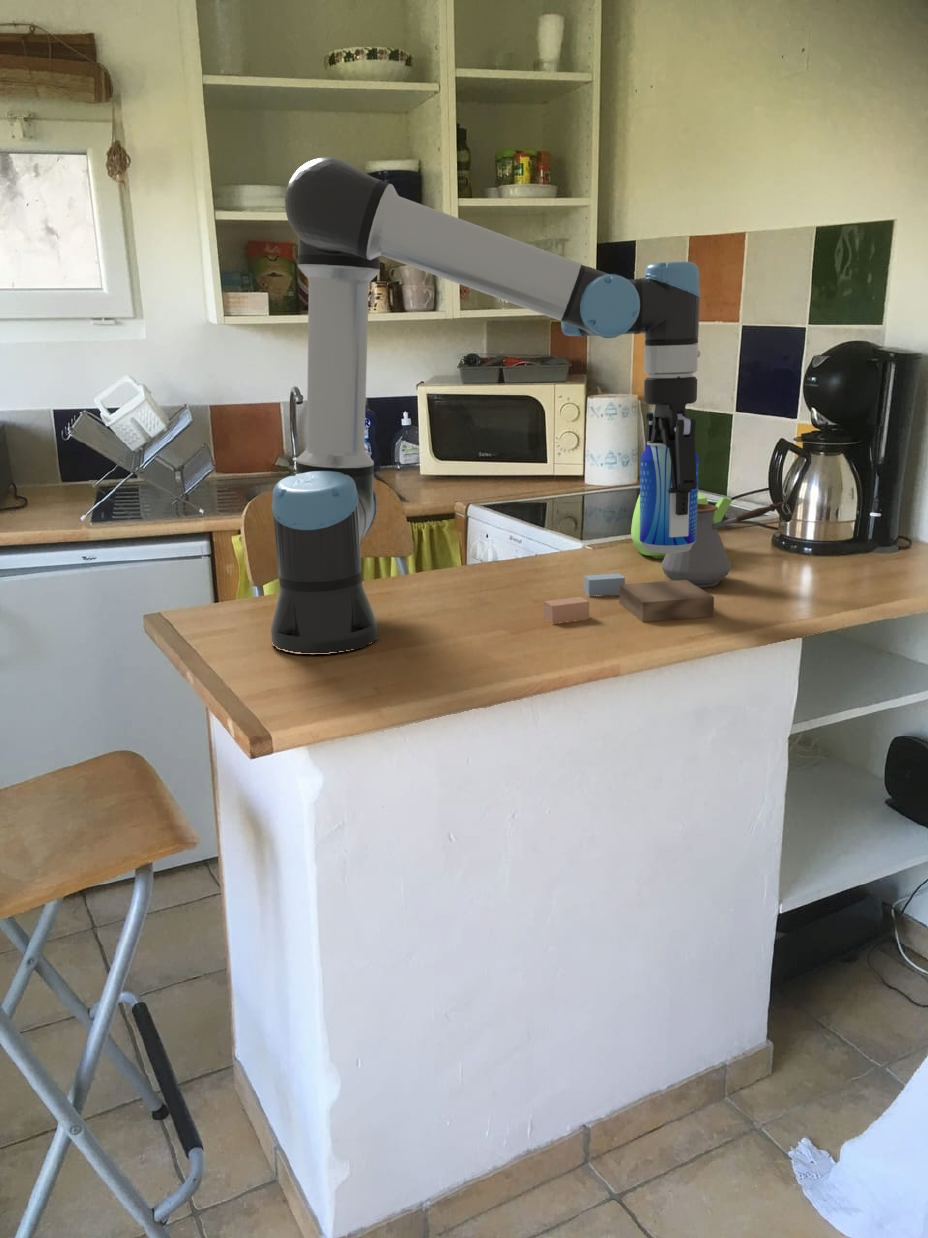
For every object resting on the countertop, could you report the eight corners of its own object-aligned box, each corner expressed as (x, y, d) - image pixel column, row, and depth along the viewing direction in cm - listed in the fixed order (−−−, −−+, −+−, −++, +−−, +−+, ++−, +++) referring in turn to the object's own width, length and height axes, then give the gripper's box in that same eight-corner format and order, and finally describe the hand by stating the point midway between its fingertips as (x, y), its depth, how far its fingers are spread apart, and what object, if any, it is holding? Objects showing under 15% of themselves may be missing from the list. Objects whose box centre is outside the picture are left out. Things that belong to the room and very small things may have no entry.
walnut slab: (642, 621, 150) (643, 602, 150) (619, 603, 161) (619, 584, 160) (713, 616, 152) (714, 596, 151) (685, 597, 162) (686, 579, 162)
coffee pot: (648, 584, 172) (649, 496, 167) (681, 571, 180) (684, 486, 176) (768, 603, 158) (773, 507, 154) (798, 587, 166) (804, 496, 162)
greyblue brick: (588, 598, 165) (588, 580, 164) (584, 593, 168) (584, 575, 167) (624, 595, 166) (624, 577, 165) (619, 591, 169) (619, 573, 168)
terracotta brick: (552, 625, 151) (552, 606, 150) (544, 620, 154) (544, 601, 153) (589, 620, 153) (589, 601, 152) (580, 615, 155) (580, 596, 155)
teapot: (715, 540, 204) (717, 475, 200) (745, 562, 185) (748, 491, 181) (623, 543, 203) (624, 478, 200) (644, 566, 184) (645, 494, 181)
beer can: (692, 555, 149) (695, 445, 144) (635, 553, 151) (636, 445, 147) (699, 543, 156) (702, 438, 152) (644, 541, 159) (645, 438, 154)
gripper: (725, 377, 137) (719, 542, 144) (669, 371, 157) (666, 516, 164) (672, 380, 136) (668, 546, 142) (622, 373, 156) (621, 519, 162)
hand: (667, 530), depth 153 cm, fingers closed on beer can, 8 cm apart
